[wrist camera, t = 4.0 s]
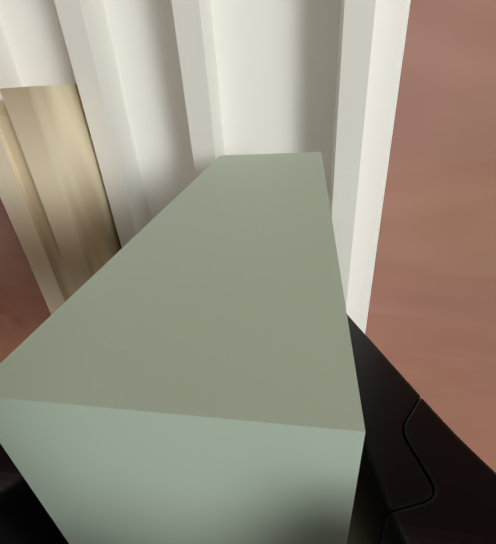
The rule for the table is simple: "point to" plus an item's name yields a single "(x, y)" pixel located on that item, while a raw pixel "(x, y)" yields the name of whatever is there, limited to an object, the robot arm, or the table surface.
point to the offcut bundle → (54, 188)
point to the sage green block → (200, 374)
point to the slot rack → (225, 97)
